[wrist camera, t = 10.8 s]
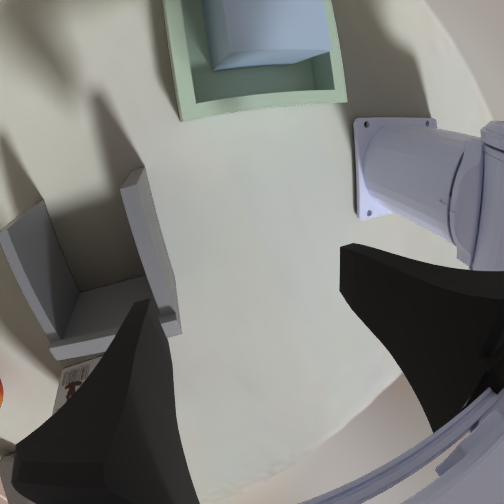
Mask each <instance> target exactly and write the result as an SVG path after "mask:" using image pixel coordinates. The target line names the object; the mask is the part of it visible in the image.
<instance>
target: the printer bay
mask: <svg viewBox="0 0 504 504" xmlns="http://www.w3.org/2000/svg"><path fill="white" fill-rule="evenodd" d="M120 192H121V196H122V200H123V203H124V207H125V210H126V214H127V217H128V221H129V224H130V227H131V230H132V234H133V237H134V240H135V243H136V246H137V249H138V252H139V255H140V258H141V261H142V264H143V267H144V270H145V273H146V275H145V276H141V277H137V278H134V279H130V280H126V281H122V282H118V283H115V284H111V285H107V286H103V287H99V288H96V289H92V290H88V291H84V292H79V290H78V288H77V286H76V284H75V281H74V279H73V277H72V275H71V272H70V270H69V268H68V265H67V263H66V261H65V258H64V256H63V253H62V251H61V248H60V245H59V243H58V240H57V238H56V235H55V232H54V229H53V226H52V224H51V221H50V218H49V215H48V212H47V209H46V206H45V202H44V200H41V201H39V202H36V203H34V204H33V205H31V206H30V207H29V208H28V209H26V210H25V211H24V212H22V213H21V214H20V215H19V216H17V217H16V218H15V219H14V220H12V221H11V222H10V223H9V224H7V225H6V226H5V227H4V228H3V229H1V230H0V244H1V246H2V249H3V251H4V253H5V256H6V258H7V260H8V263H9V265H10V267H11V270H12V272H13V274H14V276H15V278H16V280H17V282H18V284H19V286H20V288H21V290H22V292H23V294H24V296H25V298H26V300H27V302H28V304H29V306H30V308H31V309H32V311H33V313H34V315H35V317H36V318H37V320H38V322H39V323H40V325H41V327H42V329H43V330H44V332H45V333H46V335H47V337H48V338H49V340H50V341H51V343H50V345H49V348H48V349H49V350H50V352H51V353H52V355H53V356H54V358H55V359H56V360H57V361H58V360H64V359H69V358H75V357H80V356H86V355H91V354H96V353H101V352H106V350H107V348H108V347H109V345H110V344H111V342H112V341H113V339H114V337H115V335H116V334H117V332H118V330H119V329H120V327H121V325H122V323H123V321H124V320H125V318H126V316H127V314H128V313H129V311H130V309H131V307H132V306H133V304H134V302H138V301H142V300H146V299H150V298H151V301H152V303H153V306H154V308H155V311H156V313H157V316H158V318H159V321H160V323H161V326H162V328H163V330H164V333H165V335H166V337H167V338H168V337H172V336H176V335H180V334H182V329H181V322H180V315H179V307H178V299H177V291H176V282H175V276H174V273H173V270H172V267H171V263H170V260H169V257H168V253H167V250H166V246H165V243H164V239H163V236H162V232H161V229H160V225H159V221H158V217H157V214H156V210H155V206H154V202H153V198H152V194H151V190H150V186H149V182H148V178H147V173H146V169H145V167H142V168H138V169H135V170H132V172H131V173H130V175H129V176H128V178H127V179H126V181H125V182H124V184H123V185H122V187H121V188H120Z"/></svg>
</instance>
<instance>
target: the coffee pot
mask: <svg viewBox="0 0 504 504" xmlns="http://www.w3.org/2000/svg"><path fill="white" fill-rule="evenodd" d="M14 455H15V454H10V456H5V457H3V458H1V459H0V477H1V481H2V484H3V488H4V491H5V494H6V497H7V500H8V503H9V504H35V503H34V502H32V501H30V500H28V499H27V498H25V497H24V496H22V495H21V494H19V493H18V492H17V491H16V490H15V489H14V487H13V486H12V484H11V478H12V469H13V462H14Z"/></svg>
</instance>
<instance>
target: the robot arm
mask: <svg viewBox="0 0 504 504" xmlns="http://www.w3.org/2000/svg"><path fill="white" fill-rule="evenodd" d="M365 122H366V127H365V126H364V123H365ZM353 127H354V141H355V158H356V183H357V217H358V218H359V219H361V220H367V219H371V218H374V217H378V216H382V215H386V214H390V213H396V214H398V215H400V216H402V217H404V218H406V219H408V220H410V221H412V222H414V223H416V224H417V225H419V226H421V227H423V228H425V229H427V230H429V231H430V232H432V233H434V234H436V235H438V236H439V237H441V238H443V239H445V240H446V241H448V242H450V243H452V244H453V245H455V246H457V259H459V260H460V261H462V262H463V263H465V264H466V265H468V266H469V269H468V270H465V269H456V268H449V267H444V266H438V265H433V264H429V263H425V262H421V261H417V260H413V259H410V258H406V257H402V256H399V255H396V254H392V253H389V252H386V251H382V250H379V249H376V248H372V247H369V246H365V245H361V244H355V243H352V244H349V245H345V246H342V247H340V292H341V294H342V295H343V297H344V298H345V300H346V302H347V303H348V304H349V306H350V307H351V309H352V310H353V311H354V312H355V313H356V315H357V316H358V317H359V318H360V319H361V320H362V321H363V322H364V324H365V325H366V326H367V327H368V328H369V329H370V330H371V331H372V332H373V334H374V335H375V336H376V337H377V338H378V339H379V340H380V341H381V343H382V344H383V345H384V346H385V347H386V348H387V350H388V351H389V352H390V354H391V355H392V356H393V358H394V359H395V361H396V362H397V364H398V365H399V367H400V368H401V370H402V371H403V373H404V375H405V376H406V378H407V380H408V381H409V383H410V385H411V386H412V388H413V390H414V392H415V394H416V395H417V398H418V399H419V401H420V403H421V405H422V407H423V410H424V412H425V414H426V416H427V418H428V421H429V423H430V426H431V428H432V431H433V434H432V435H430V436H429V437H427V438H426V439H425V440H423V441H422V442H420V443H419V444H417V445H416V446H414V447H413V448H411V449H409V450H408V451H406V452H405V453H403V454H401V455H400V456H398V457H397V458H395V459H393V460H392V461H390V462H388V463H386V464H385V465H383V466H381V467H379V468H377V469H376V470H374V471H372V472H370V473H368V474H366V475H364V476H362V477H361V478H358V479H356V480H354V481H352V482H350V483H348V484H346V485H343V486H341V487H339V488H337V489H334V490H332V491H330V492H327V493H325V494H323V495H320V496H318V497H315V498H313V499H310V500H307V501H305V502H302V503H299V504H361V503H363V502H365V501H367V500H369V499H371V498H373V497H375V496H377V495H378V494H380V493H382V492H384V491H386V490H387V489H389V488H391V487H393V486H394V485H396V484H398V483H399V482H401V481H402V480H404V479H406V478H407V477H409V476H410V475H412V474H413V473H415V472H416V471H418V470H419V469H421V468H422V467H424V466H425V465H427V464H428V463H429V462H431V461H432V460H434V459H435V458H436V457H438V456H439V455H440V454H442V453H443V452H444V451H446V450H447V449H448V448H450V447H451V446H452V445H453V444H455V443H456V442H457V441H458V440H459V439H461V438H462V437H463V436H464V435H465V434H466V433H468V432H469V431H470V430H471V431H470V434H469V435H468V436H467V437H466V438H465V439H464V440H463V441H462V442H461V443H460V444H459V445H458V446H457V447H456V449H455V450H454V451H453V452H452V453H451V454H450V455H449V456H448V457H447V458H446V459H445V460H444V461H443V462H442V463H441V464H440V465H439V466H437V467H436V470H435V471H436V472H437V473H438V475H439V476H440V477H439V478H437V479H436V480H435V481H433V482H432V483H431V484H429V485H428V486H426V487H425V488H423V489H422V490H421V491H419V492H418V493H416V494H415V495H413V496H412V497H410V498H409V499H407V500H405V501H404V502H402V503H401V504H504V121H490V122H489V123H488V124H487V125H486V126H485V127H483V128H482V129H481V131H480V132H481V138H480V137H476V136H471V135H467V134H462V133H457V132H453V131H448V130H442V129H437V121H436V120H435V119H434V118H413V117H373V118H356V119H355V120H354V123H353ZM368 211H369V213H368V214H367V212H368ZM11 484H12V486H13V487H14V489H15V490H16V491H17V492H18V493H19V494H21V495H22V496H24V497H25V498H27V499H28V500H30V501H32V502H34V503H35V504H200V503H199V500H198V498H197V495H196V492H195V489H194V486H193V483H192V480H191V476H190V473H189V470H188V466H187V463H186V459H185V455H184V452H183V448H182V444H181V439H180V435H179V430H178V425H177V418H176V408H175V396H174V382H173V367H172V360H171V354H170V349H169V343H168V340H167V337H166V335H165V333H164V330H163V328H162V326H161V323H160V321H159V318H158V316H157V313H156V311H155V308H154V306H153V303H152V301H151V298H150V299H146V300H142V301H138V302H134V304H133V306H132V307H131V309H130V311H129V313H128V314H127V316H126V318H125V320H124V321H123V323H122V325H121V327H120V329H119V330H118V332H117V334H116V335H115V337H114V339H113V341H112V342H111V344H110V345H109V347H108V348H107V350H106V352H105V353H104V355H103V356H102V358H101V359H100V361H99V362H98V364H97V365H96V367H95V368H94V369H93V371H92V372H91V373H90V375H89V376H88V377H87V379H86V380H85V381H84V382H83V384H82V385H81V386H80V387H79V388H78V389H77V390H76V392H75V393H74V394H73V395H72V396H71V397H70V398H69V399H68V400H67V402H66V403H65V404H64V405H63V406H62V407H61V408H60V409H59V410H58V411H57V412H56V413H55V414H54V415H52V416H51V417H50V418H49V419H48V420H47V421H46V422H45V423H44V424H42V425H41V426H40V427H39V428H38V429H36V430H35V431H34V432H32V433H31V434H30V435H28V436H27V437H26V438H24V439H23V440H22V441H20V442H19V443H18V444H16V449H15V455H14V462H13V469H12V478H11Z"/></svg>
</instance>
